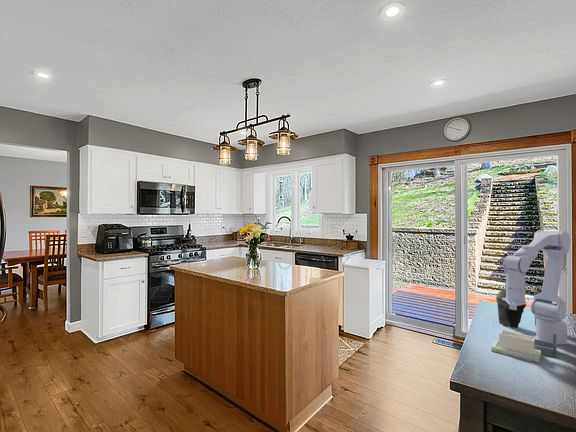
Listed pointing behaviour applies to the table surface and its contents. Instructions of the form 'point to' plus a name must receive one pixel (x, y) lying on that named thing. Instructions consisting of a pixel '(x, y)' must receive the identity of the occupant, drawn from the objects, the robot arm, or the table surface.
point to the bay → (547, 345)
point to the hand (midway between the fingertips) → (515, 324)
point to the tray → (515, 354)
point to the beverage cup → (502, 307)
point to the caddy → (517, 342)
